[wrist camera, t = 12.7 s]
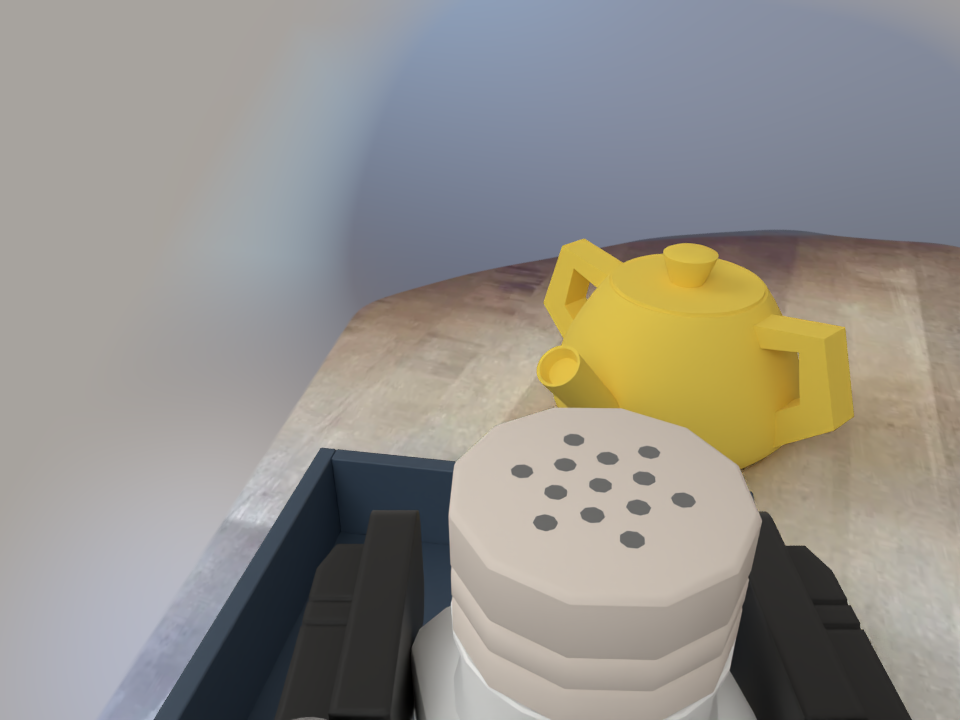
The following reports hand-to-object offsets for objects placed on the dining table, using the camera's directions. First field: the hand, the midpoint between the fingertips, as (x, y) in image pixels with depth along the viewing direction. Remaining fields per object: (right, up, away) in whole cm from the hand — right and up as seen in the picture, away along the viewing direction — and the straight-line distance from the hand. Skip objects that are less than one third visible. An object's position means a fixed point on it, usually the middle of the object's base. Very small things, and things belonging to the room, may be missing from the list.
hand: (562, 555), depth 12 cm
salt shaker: (0, -7, +1) cm, 7 cm away
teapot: (+9, -1, +33) cm, 35 cm away
